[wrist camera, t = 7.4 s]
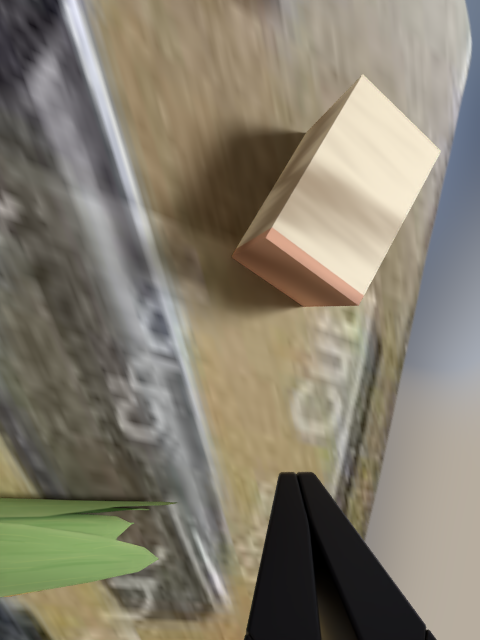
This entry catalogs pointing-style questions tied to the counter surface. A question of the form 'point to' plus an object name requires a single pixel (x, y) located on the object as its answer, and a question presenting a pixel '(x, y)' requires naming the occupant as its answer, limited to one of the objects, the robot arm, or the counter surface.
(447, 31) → the counter surface
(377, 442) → the counter surface
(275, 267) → the marked block
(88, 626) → the counter surface
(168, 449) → the counter surface
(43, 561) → the edible corn
